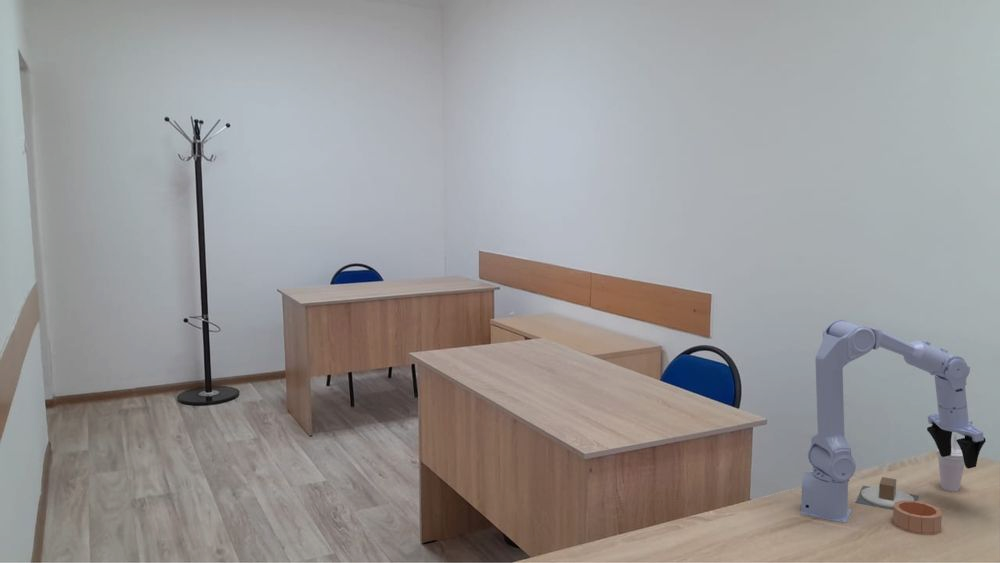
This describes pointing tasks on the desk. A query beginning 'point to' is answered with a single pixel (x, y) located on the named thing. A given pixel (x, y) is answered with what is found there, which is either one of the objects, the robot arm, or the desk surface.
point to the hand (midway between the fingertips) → (958, 461)
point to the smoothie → (951, 468)
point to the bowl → (917, 517)
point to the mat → (862, 501)
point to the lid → (885, 494)
